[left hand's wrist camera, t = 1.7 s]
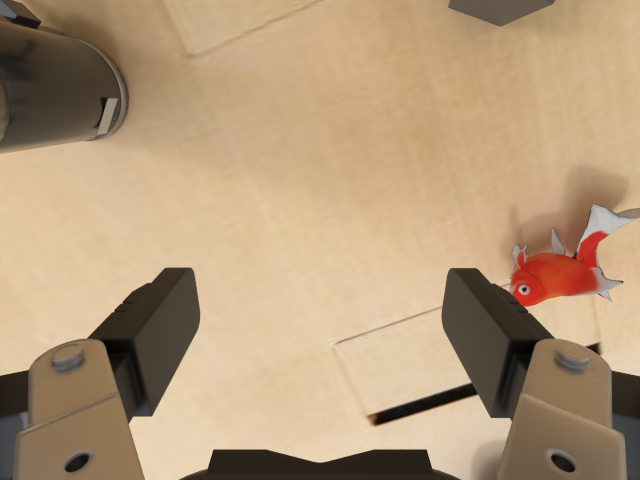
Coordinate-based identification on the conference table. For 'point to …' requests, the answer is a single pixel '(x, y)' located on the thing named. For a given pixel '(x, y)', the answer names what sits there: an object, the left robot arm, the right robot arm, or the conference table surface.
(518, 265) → the fish
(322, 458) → the conference table surface
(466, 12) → the bar
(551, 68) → the conference table surface
